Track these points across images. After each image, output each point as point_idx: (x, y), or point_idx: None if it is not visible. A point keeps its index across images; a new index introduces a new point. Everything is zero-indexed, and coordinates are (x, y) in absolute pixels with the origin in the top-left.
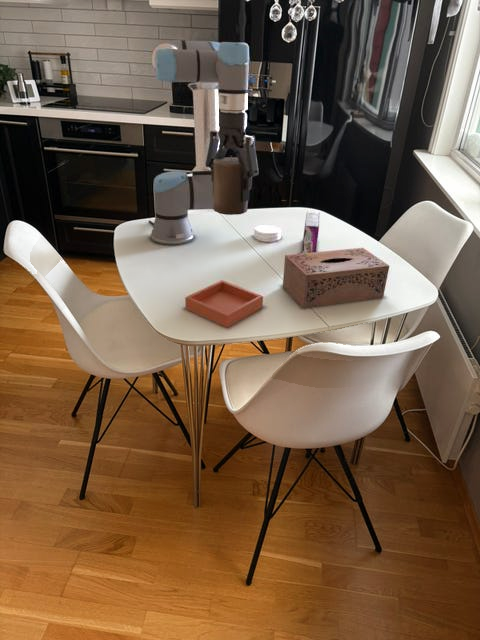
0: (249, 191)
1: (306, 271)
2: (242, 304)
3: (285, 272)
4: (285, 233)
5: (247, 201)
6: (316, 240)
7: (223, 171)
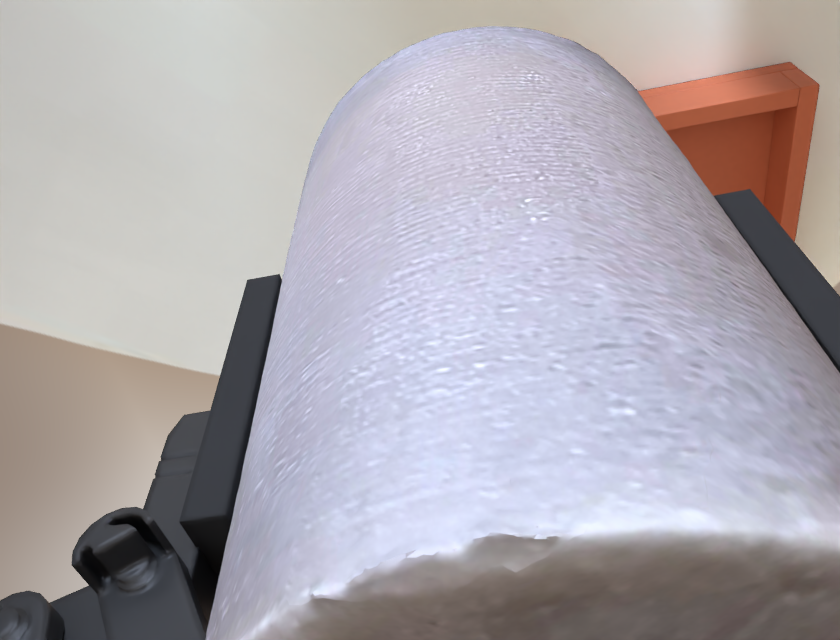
0: (800, 250)
1: None
2: (718, 149)
3: None
4: None
5: (666, 133)
6: None
7: None
